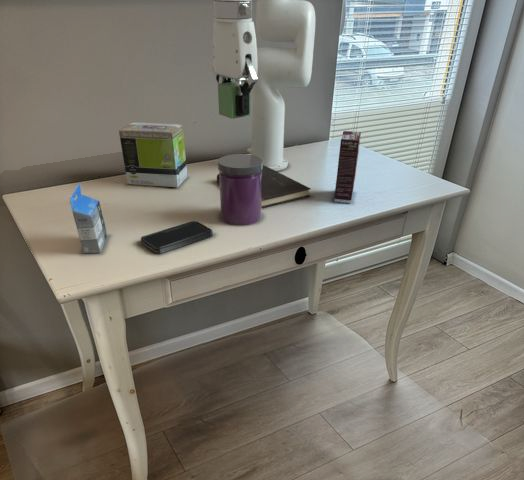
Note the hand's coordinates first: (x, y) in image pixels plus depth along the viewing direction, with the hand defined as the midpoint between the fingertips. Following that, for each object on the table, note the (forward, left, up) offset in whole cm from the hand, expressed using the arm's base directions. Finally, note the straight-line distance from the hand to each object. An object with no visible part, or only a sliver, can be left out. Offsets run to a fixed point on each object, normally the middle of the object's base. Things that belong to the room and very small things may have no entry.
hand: (234, 111), depth 108 cm
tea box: (-34, -3, -24) cm, 42 cm away
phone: (+2, -18, -24) cm, 30 cm away
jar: (+1, +1, -24) cm, 24 cm away
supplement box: (+7, +31, -24) cm, 40 cm away
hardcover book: (-11, +17, -24) cm, 31 cm away
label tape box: (-6, -34, -24) cm, 42 cm away
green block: (0, 0, -1) cm, 1 cm away
